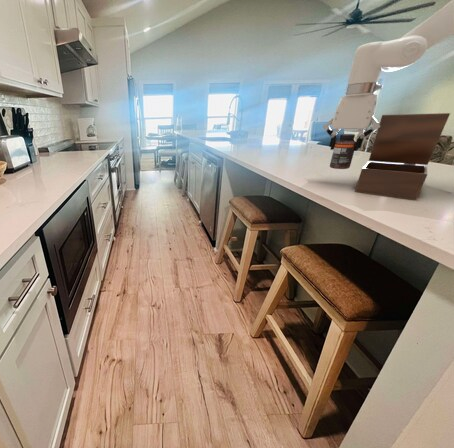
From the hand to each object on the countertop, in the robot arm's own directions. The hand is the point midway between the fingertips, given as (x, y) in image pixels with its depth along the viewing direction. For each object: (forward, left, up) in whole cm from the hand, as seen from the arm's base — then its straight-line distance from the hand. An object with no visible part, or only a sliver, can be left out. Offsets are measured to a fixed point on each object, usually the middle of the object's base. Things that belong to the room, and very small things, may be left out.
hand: (343, 149), depth 83 cm
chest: (-11, +9, -12) cm, 19 cm away
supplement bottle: (0, 0, -7) cm, 7 cm away
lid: (-14, +5, +3) cm, 15 cm away
